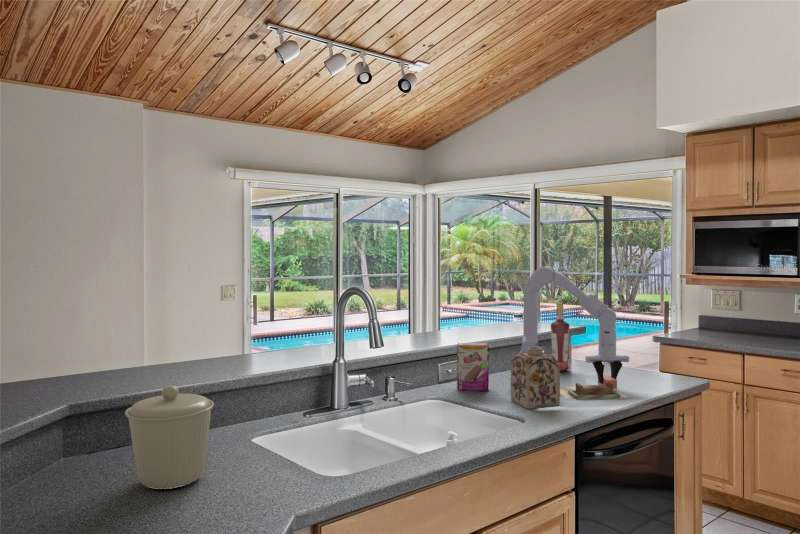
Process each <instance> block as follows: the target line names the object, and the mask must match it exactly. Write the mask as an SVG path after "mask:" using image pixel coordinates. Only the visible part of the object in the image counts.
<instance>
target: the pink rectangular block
mask: <svg viewBox="0 0 800 534" xmlns="http://www.w3.org/2000/svg"><path fill="white" fill-rule="evenodd" d="M607 382H608V383H610V384H612V385H613V389H615V390H617V389H618V380H617V378H616V379H614V378H612V377H611V375H609V374H603V384H601V383H599V379H598V378H597V385H605V383H607Z"/></svg>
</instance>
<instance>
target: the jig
mask: <svg viewBox="0 0 800 534" xmlns="http://www.w3.org/2000/svg"><path fill="white" fill-rule="evenodd" d="M561 395H562V397H564V398H565V399H566V400H590V399H591V400H599V399H601V400H602V399H629V397H628V396H626V395H624V394H623V393H622V392H620V391H618V390H617V389H613V394H605V395H577V394H576V386H560V396H561Z"/></svg>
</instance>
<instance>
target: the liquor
mask: <svg viewBox="0 0 800 534" xmlns="http://www.w3.org/2000/svg"><path fill="white" fill-rule="evenodd" d="M563 309H564V301H556V319H555V321H553V322H552V323H551V324H550V338H551V339H550V340H551V355H553V356H554V357H555V359H556V360H557V362H558V364H559V366H560V367H559V368H560V373H565V372H567V371H568V370H569V369H570V367H569V341H570V324H569V323H568V322H567V321H565V319H564V310H563Z"/></svg>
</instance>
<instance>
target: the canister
mask: <svg viewBox="0 0 800 534" xmlns="http://www.w3.org/2000/svg"><path fill="white" fill-rule="evenodd" d="M179 392H180V390H179V388H178V387H177V386H176V385H166V386H165V387H163V388H162V389H161V395H157V396H152V397H148V398H144V399H141V400H139V401H137V402H135V403H134V404H132V406H130V407H128V408H127V409H126V410H125V411H124V414H125V415H124V416H125V417H127V418H128V422H129V424H128V425H129V431H130V436H131V444H132V451H133V455H134V458H133V459H134V463H135V467H136V473H137V478H138V480H139V482H140V484H141V485H142V486H143V485H145V486H147V487H153V488H167V487H175V486H180V485H185V484H188V483H190V482H193V481H195V480H197V479H198V478H199V479H200V478H201V477H202V476H203V474H204V471H205V468H206V463H207V457H208V448H209V446H208V445H209V435H210V424H211V415H212V414H211V413H212V409H213V408H214V406H215V403H214V401H213V400H212V399H209V398H207V397H206V396H204V395H200V394H196V393H179ZM199 479H198V480H199ZM198 480H197V481H198ZM145 486H144V487H145Z"/></svg>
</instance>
